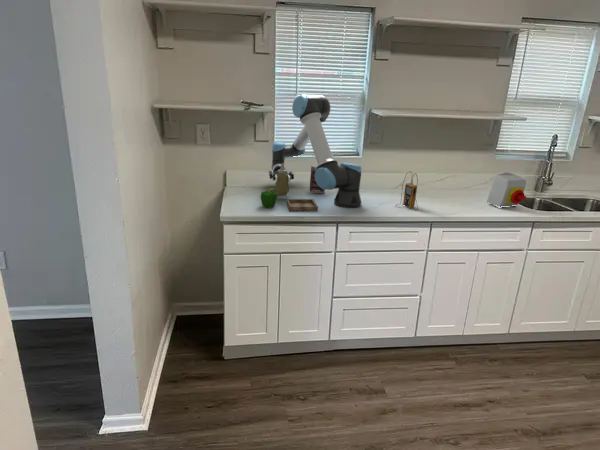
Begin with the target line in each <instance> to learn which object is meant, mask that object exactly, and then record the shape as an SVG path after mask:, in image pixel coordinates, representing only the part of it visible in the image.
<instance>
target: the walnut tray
mask: <svg viewBox="0 0 600 450" xmlns="http://www.w3.org/2000/svg"><path fill="white" fill-rule="evenodd" d="M285 201H286V203H287V204H286V203H285V204H286V206H287V208H288V211H289V212H309V213H310V212H313V213H314V212H316V213H317V212H318V213H319V205H317V203H316V202H315V199H313V198H312V199H310V198H308V199H307V198H286V200H285Z"/></svg>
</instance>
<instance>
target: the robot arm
mask: <svg viewBox="0 0 600 450" xmlns="http://www.w3.org/2000/svg"><path fill="white" fill-rule="evenodd" d="M291 108H292V113H293V115H294V116H295V118H299V120H300V123H301V124H302V125H304V126H303V127H302V129H301V130H300V131H299V134H297V137H296V138H295V139H294V141H293V142H292V144H288V145H286V143H285V142H282V141H281V142H280V141H279V142H278V141H276V142H273V143H272V159H271V160H272V161H271V170H273V171H271V170H269V171H268V176H269V179H270V180H272V181H275V183H276V182H277V174H278V170H280V168H281V164H282V163H284V164H285V159H286V158H294V157H293V156H298V155H301V154H304V153H305V152H306V146H307V144H309V142H310V145H311V147H312V150H313V153H314V156H315V159H316V163H317V165H316V166H317V167H316V169H317V170H316V172H315V175H316V176H315V180H316V183H317V185H318V186H319V187H320V188H322V189H325V190H331V191H332V190H334V189H337V192H336V195H335V197H334V200H333V204H334V205H335V206H337V207H341V208H346V209H356V208H360V207H362V198H361V194H360V189H361V178H362V167H361V165H360V164H356V163H351V162H345V161H342V162H340V164H339V163H338V160H337V159H334V157H333V154H332V152H331V148H330V145H329V142H328V138H327V136H326V133H325V131H324V127H323V125H322V124H323V123H324V122H326V121H327V119H328V117H329V115H330V114H331V103H330V101H329V99H328V98H327V97H326V96H324V95H321V94H304V93H303V94H298V95H297V96H295V98H294V99H293V102H292V107H291ZM305 154H306V153H305ZM305 154H304V155H305ZM284 168H285V170H287V169H286V167H285V166H284ZM286 174H288V182H289V183H290V182H291V181H292V180H294V179H295V174H294V173H293V171H289V172H288V171H287V173H286Z"/></svg>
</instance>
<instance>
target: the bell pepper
mask: <svg viewBox="0 0 600 450" xmlns="http://www.w3.org/2000/svg"><path fill="white" fill-rule="evenodd" d="M277 198H278V195H277V194H276V191H275V188H274V187H273V188H270V189H268V190H265V191H261V193H260V201H261V205H262V206H263V207H264V208H266V209H270V208H274V207H275V205H276V204H277V203H276V202H277V200H278V199H277Z"/></svg>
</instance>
